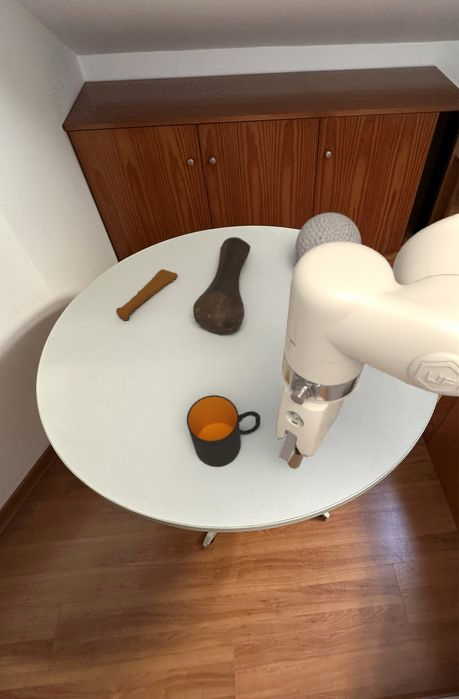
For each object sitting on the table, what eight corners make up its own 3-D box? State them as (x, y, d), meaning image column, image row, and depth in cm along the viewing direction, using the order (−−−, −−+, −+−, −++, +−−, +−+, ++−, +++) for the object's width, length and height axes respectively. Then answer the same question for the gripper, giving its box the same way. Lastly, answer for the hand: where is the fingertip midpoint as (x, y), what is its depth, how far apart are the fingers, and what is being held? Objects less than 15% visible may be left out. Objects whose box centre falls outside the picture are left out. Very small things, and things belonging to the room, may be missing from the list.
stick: (302, 461, 57) (318, 422, 46) (295, 471, 57) (309, 434, 45) (292, 453, 58) (305, 413, 47) (284, 463, 57) (296, 424, 46)
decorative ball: (287, 256, 98) (291, 203, 86) (343, 249, 98) (354, 196, 86) (301, 294, 88) (307, 242, 76) (362, 287, 89) (378, 233, 77)
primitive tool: (162, 270, 97) (159, 259, 94) (179, 275, 95) (177, 265, 92) (116, 319, 87) (111, 308, 84) (134, 326, 85) (130, 316, 82)
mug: (266, 454, 64) (268, 428, 56) (199, 472, 63) (191, 448, 55) (253, 414, 69) (253, 384, 61) (191, 429, 68) (182, 401, 60)
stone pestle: (228, 347, 82) (243, 276, 102) (250, 317, 75) (262, 246, 94) (183, 327, 80) (207, 258, 99) (202, 293, 73) (224, 226, 92)
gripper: (320, 448, 31) (299, 508, 45) (388, 327, 38) (351, 411, 53) (245, 405, 34) (248, 474, 48) (322, 300, 41) (304, 387, 56)
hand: (302, 441), depth 50 cm, fingers closed on stick, 2 cm apart
